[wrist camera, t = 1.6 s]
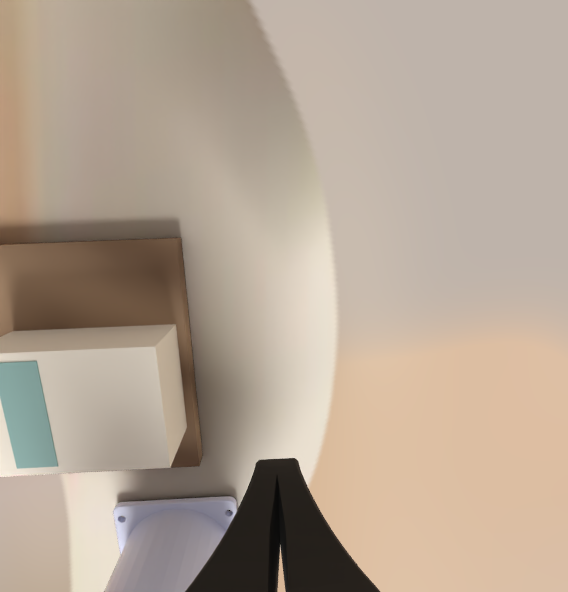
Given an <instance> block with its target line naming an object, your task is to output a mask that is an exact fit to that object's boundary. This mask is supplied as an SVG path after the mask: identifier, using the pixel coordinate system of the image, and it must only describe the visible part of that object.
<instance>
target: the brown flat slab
mask: <svg viewBox="0 0 568 592" xmlns="http://www.w3.org/2000/svg"><path fill="white" fill-rule="evenodd" d="M168 324H176V330H177V339H178V348H179V357H180V367H181V376H182V385H183V394H184V404H185V413H186V422H187V428H186V431H185V433H184V436H183V438H182V440H181V443H180V445H179V448H178V450H177V453H176V455H175V457H174V460H173V462H172V465H171V467H170V468H173V467H192V466H200V462H201V459H202V456H203V455H202V445H201V435H200V425H199V414H198V404H197V394H196V384H195V374H194V364H193V354H192V344H191V334H190V324H189V314H188V303H187V293H186V283H185V273H184V263H183V253H182V243H181V238H158V239H131V240H104V241H77V242H50V243H23V244H0V337H1V336H3V335H6V334H8V333H10V332H13V331H29V330H52V329H76V328H99V327H122V326H145V325H168Z"/></svg>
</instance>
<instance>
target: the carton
mask: <svg viewBox="0 0 568 592" xmlns="http://www.w3.org/2000/svg"><path fill="white" fill-rule="evenodd" d="M186 428H187V422H186V413H185V404H184V394H183V385H182V376H181V367H180V357H179V348H178V339H177V330H176V324H168V325H145V326H122V327H99V328H76V329H52V330H29V331H13V332H10V333H8V334H6V335H3V336H1V337H0V477H5V476H23V475H43V474H62V473H81V472H100V471H119V470H137V469H156V468H170V467H171V465H172V462H173V460H174V457H175V455H176V453H177V450H178V448H179V445H180V443H181V440H182V438H183V436H184V433H185V431H186Z"/></svg>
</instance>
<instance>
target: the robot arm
mask: <svg viewBox="0 0 568 592" xmlns="http://www.w3.org/2000/svg"><path fill="white" fill-rule="evenodd" d="M227 510H231V511H230V512H229V511H227ZM113 514H114V520H115V526H116V531H117V537H118V543H119V549H120V557H119V560H118V562H117V564H116V566H115V568H114V571H113V573H112V575H111V577H110V580H109V582H108V584H107V586H106V588H105V591H104V592H277V588H278V570H279V554H280V545H281V554H282V563H283V571H284V581H285V589H286V592H380V591H379V590H378V588H377V587H376V586H375V585H374V584H373V583H372V582H371V581H370V580H369V578H368V577H367V576H366V575H365V574H364V573H363V571H362V570H361V569H360V568H359V567H358V566H357V564H356V563H355V562H354V560H353V559H352V558H351V556H350V555H349V554H348V553H347V551H346V550H345V548H344V547H343V546H342V544H341V543H340V542H339V540H338V539H337V537H336V536H335V534H334V533H333V531H332V530H331V528H330V527H329V525H328V523H327V522H326V520H325V519H324V517H323V515H322V513H321V512H320V510H319V508H318V506H317V504H316V502H315V501H314V499H313V497H312V495H311V493H310V491H309V489H308V487H307V485H306V482H305V480H304V478H303V475H302V473H301V470H300V467H299V463H298V461H297V460H296V459H295V458H287V459H268V460H259V461H258V462H257V463H256V466H255V470H254V473H253V476H252V479H251V481H250V484H249V486H248V489H247V491H246V493H245V495H244V497H243V500H242V502H241V504H240V506H239V508H238V510H237V503H236V500H235V498H233V497H231V496H223V497H205V498H187V499H169V500H151V501H133V502H120V503H118V504H117V505H116V506H115V508H114V510H113ZM122 516H124V517H122Z"/></svg>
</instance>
